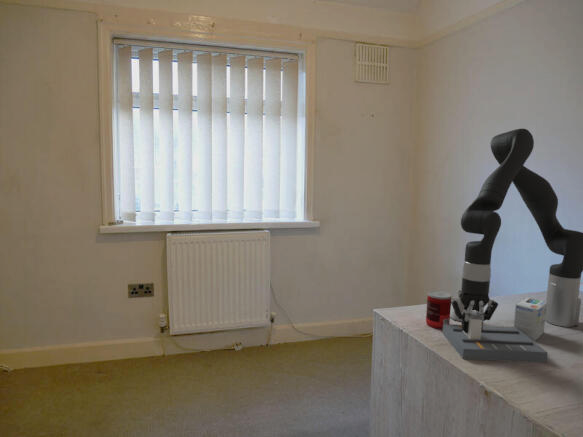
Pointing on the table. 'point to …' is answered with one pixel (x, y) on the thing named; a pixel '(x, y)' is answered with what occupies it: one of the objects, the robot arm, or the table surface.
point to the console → (495, 344)
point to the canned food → (438, 309)
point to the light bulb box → (530, 317)
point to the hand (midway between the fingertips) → (471, 332)
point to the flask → (452, 314)
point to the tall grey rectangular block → (474, 326)
